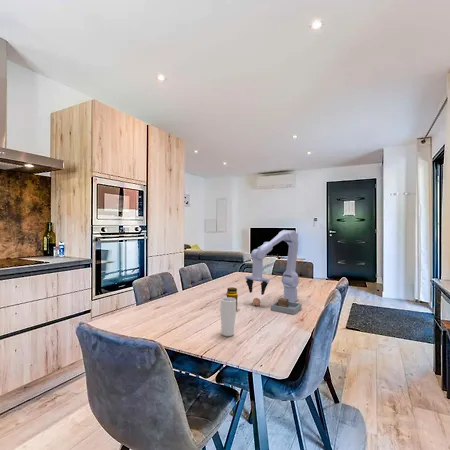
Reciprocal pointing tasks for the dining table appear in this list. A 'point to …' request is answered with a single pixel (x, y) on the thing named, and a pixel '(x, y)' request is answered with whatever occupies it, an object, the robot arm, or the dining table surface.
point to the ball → (256, 301)
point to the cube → (283, 302)
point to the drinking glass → (228, 315)
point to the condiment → (232, 294)
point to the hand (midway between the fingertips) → (256, 293)
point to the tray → (291, 308)
